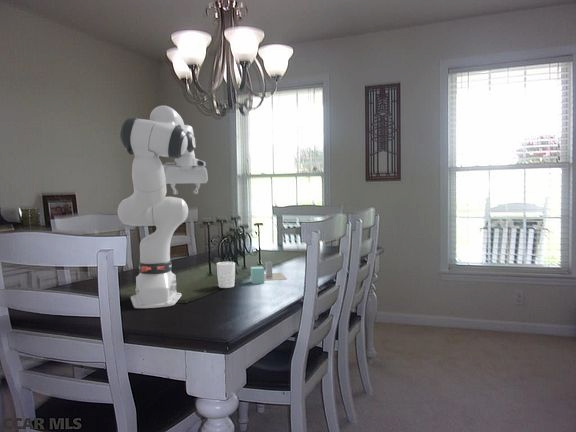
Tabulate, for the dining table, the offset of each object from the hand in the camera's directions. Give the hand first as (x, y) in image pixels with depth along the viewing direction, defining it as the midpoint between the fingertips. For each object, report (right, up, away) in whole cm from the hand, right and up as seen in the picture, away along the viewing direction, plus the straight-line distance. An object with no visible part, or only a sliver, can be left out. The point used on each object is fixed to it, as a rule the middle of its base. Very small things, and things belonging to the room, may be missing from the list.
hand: (186, 194), depth 204 cm
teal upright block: (+32, -39, 0) cm, 50 cm away
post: (+36, -38, +11) cm, 54 cm away
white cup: (+19, -40, -7) cm, 45 cm away
